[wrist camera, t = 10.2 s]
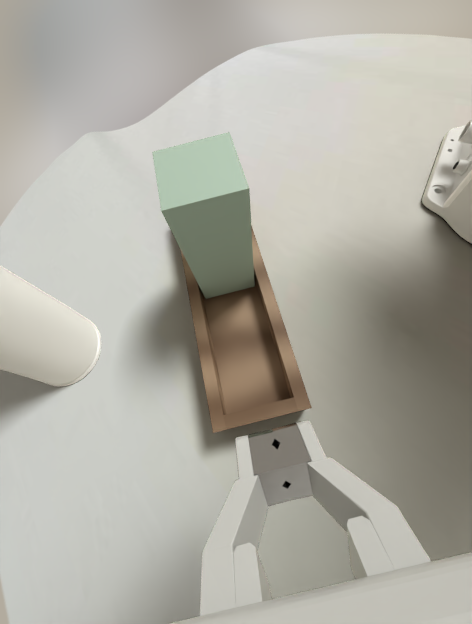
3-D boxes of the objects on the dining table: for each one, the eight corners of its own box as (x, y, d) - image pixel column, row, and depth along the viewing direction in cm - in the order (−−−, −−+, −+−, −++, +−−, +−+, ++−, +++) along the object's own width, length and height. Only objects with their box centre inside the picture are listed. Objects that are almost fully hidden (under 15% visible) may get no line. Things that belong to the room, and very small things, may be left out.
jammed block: (254, 286, 29) (249, 188, 16) (205, 298, 29) (161, 210, 16) (242, 246, 32) (229, 132, 19) (197, 257, 32) (152, 152, 19)
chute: (305, 408, 25) (311, 407, 22) (219, 429, 25) (213, 432, 22) (240, 206, 36) (238, 186, 32) (180, 221, 36) (172, 203, 32)
